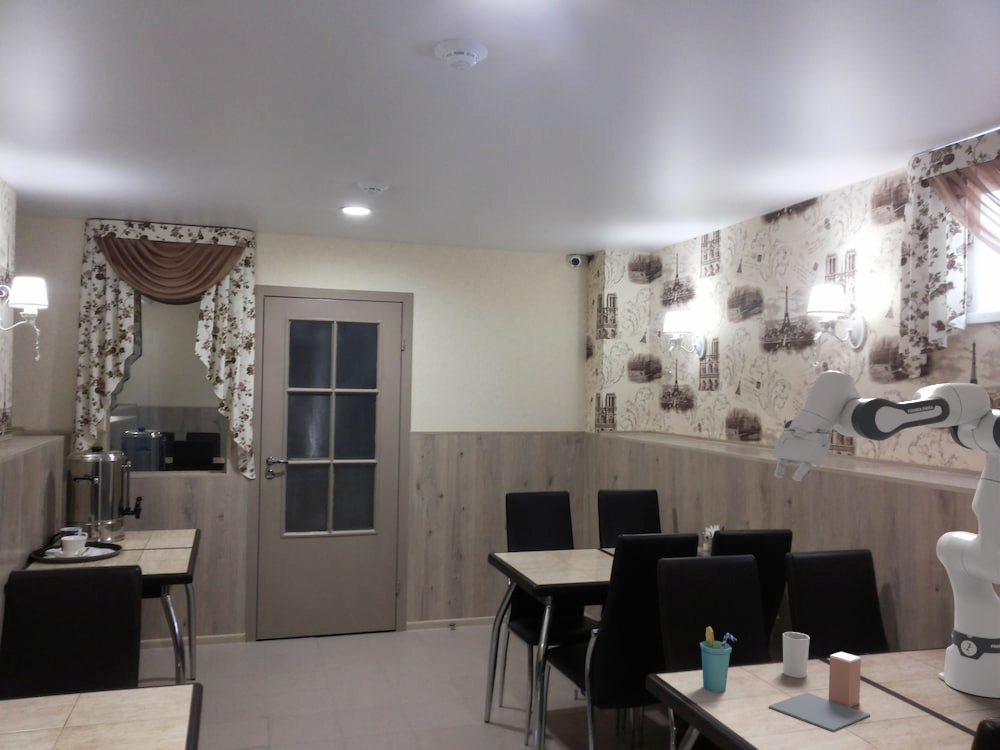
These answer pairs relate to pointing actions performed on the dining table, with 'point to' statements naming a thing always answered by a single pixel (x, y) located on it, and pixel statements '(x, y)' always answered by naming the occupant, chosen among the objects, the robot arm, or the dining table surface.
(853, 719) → the mat
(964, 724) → the dining table surface
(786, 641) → the drinking glass
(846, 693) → the block
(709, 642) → the cup
